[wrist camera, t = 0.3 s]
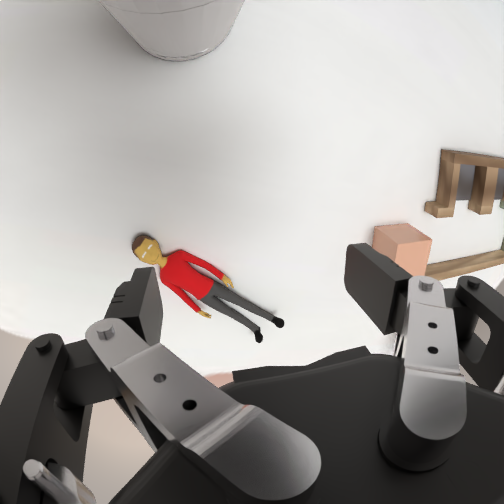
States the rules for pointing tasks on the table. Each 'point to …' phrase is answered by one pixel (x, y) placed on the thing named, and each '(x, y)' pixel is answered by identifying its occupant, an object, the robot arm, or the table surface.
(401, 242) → the clay block
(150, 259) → the person figure
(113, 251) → the table surface
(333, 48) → the table surface
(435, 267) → the brown frame
